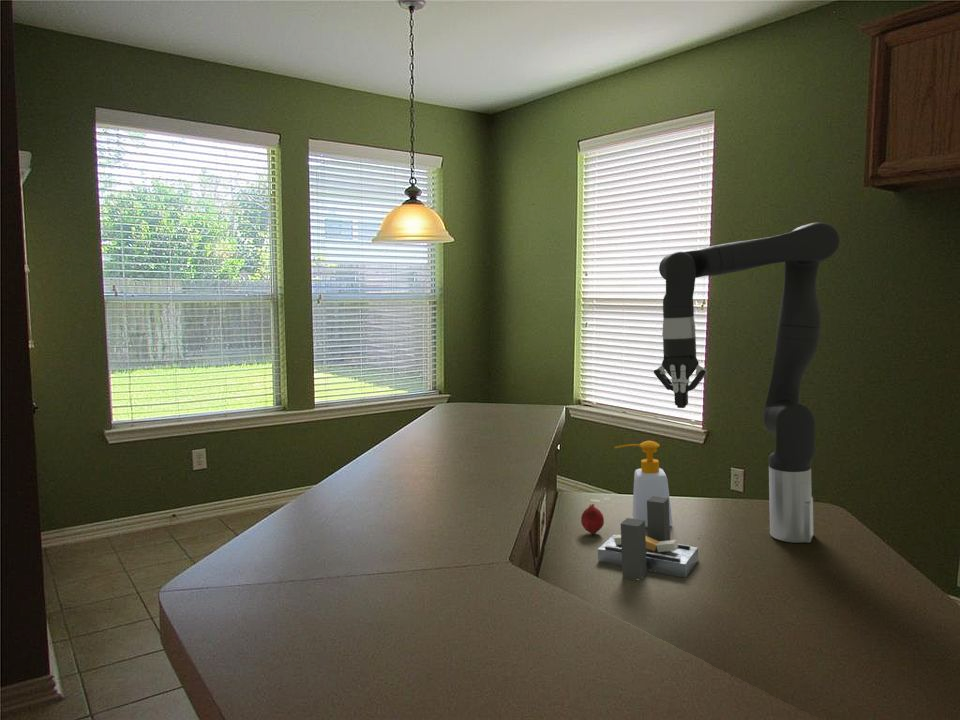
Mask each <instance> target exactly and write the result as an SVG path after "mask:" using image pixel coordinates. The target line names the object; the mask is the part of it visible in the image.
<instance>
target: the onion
mask: <svg viewBox="0 0 960 720" xmlns="http://www.w3.org/2000/svg"><path fill="white" fill-rule="evenodd" d="M604 521H605V518H604V514H603V513H602V511H600V509H598V508H597V507H595V504H594V503H590V504H589V506H588V507H587V508H586V509H584V510H583V512H582V514H581V518H580V523H581V525H582V527H583V529H585V531H586V532H588V533H589V534H591V535H594V534H597V532H599V531H600V530H601V529H602V528H603V526H604V523H605V522H604Z"/></svg>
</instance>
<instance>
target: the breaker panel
mask: <svg viewBox="0 0 960 720" xmlns="http://www.w3.org/2000/svg"><path fill="white" fill-rule="evenodd" d="M617 535H621V533H620V534H619V533H618V534H613V535H611V537H609V538H608V539H607V540H606V541H605V542H604V543H603V544H602V545H600V546H599V547H598V548H597V560H598V561H597V562H598V563H605V564H608V565H609V564H610V565H614V566H615V565H616V566H620V567H622V547H621V545H616V544H615V540H614V538H615V537H616V536H617ZM657 541H659V540H657ZM677 544H678V548H677V549H676V550H675V551H664V552H658V550H657V549H656V550H655V551H652V550H650V549H648V548H646V564H647V570H651V571H650V572H652V571H656V572H655V573H658V572H659V573H658V574H663V575H664V574H665V575H668V576H669V575H670V576H675V577H681V578H687V577H688V576H689V574H690V573H691V571H693V568H694V567H695V566H696V564H697V563H698V561H699V552H698V551H699V550H698V549H699V547H695V546H691V545H690V544H683V543H678V542H677Z"/></svg>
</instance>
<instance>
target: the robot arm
mask: <svg viewBox="0 0 960 720" xmlns="http://www.w3.org/2000/svg"><path fill="white" fill-rule="evenodd" d="M840 240H841V239H840V234H839V233H838V231H837V229H836V228H835V227H834V226H832V225H830V224H828V223H825V222H821V221H820V222H818V221H816V222H811V223H810V222H809V223H807V224H804V225H800V226H798V227H796V228H794V229H793V230H792V231H789V232H786V233H782V234H779V235H774V236H770V237H761V238H756V239H755V238H754V239H748V240H740V241H733V242H727V243H721V244H715V245H711V246H707V247H705V248H704V247H703V248H701V249H696V250H688V251H676V252H673V253H669V254H667V255H666V256H664V257H663V258H662V259H661V261H660V262H659V265H658V271H659V274H660V276H661V277H662V279H663V280H665V294H664V296H663V298H662V314H663V315H662V317H663V319H662V320H663V322H662V333H661V334H662V345H663V346H662V347H663V352H662V353H663V360H662V362H661V365H660V366H659V367H657V368H656V369H654V370H653V374H654V375H655V377H656V378H657V379H658V380H659V381H660V383H661V384H662V385H663V387H665V389H666V390H668V391H672V392H673V395H674V405H675V406H676V407H677V408H678V409H685V408H686V407H687V406H688V404H689V392H691V391H693V390H695V389H696V388H697V386H698V385H699V384H700V383H701V381H702V380H703V379H704V378H705V376H706V375H707V374H708V372H709V370H708V369H707V368H703V367H702V366H701V365H700V364H699V361H698V359H697V343H696V340H697V339H696V338H697V337H696V334H697V333H696V332H697V331H696V322H695V310H694V309H695V308H694V304H695V303H694V292H695V286H696V279H697V278H701V277H702V278H703V277H711V276H720V275H726V274H732V273H737V272H741V271H746V270H750V269H753V268H758V267H763V266H767V265H772V264H779V263H784V282H783V287H782V288H783V290H782V294H781V302H780V309H779V314H778V321H777V326H776V327H777V328H776V333H775V334H776V335H775V337H776V338H775V345H774V346H775V347H774V354H773V359H772V360H773V361H772V368H771V378H770V381H769V386H768V391H767V395H766V399H765V402H764V407H763V412H762V422H763V426H764V427H765V429H766V430H767V432H769V433H770V434H772V435H773V436H775V451H774V452H771V453H770V454H769V455H768V487H769V489H768V495H769V496H768V497H769V498H768V499H769V534H770V536H771V537H772V538H774V539H775V540H779V541H781V542H787V543H795V544H796V543H800V544H801V543H807V544H808V543H811V542H812V539H813V536H814V497H813V495H812V461H813V459H814V457H815V453H816V452H815V451H816V418H815V415H814V413H813V411H812V410H811V409H810V408H809V407H808V406H806V405H805V404H802V403H799V401H800V392H801V391H800V390H801V385H802V384H801V383H802V381H803V377H804V375H805V373H806V371H807V369H808V368H809V367H810V365H811V363H812V361H813V359H814V357H815V355H816V353H817V350H818V348H819V347H818V346H819V342H820V335H821V326H822V316H821V315H822V313H821V310H820V305H819V300H818V295H817V294H818V293H817V277H818V272H819V266H820V263H821V262H824V261H826V260H828V259H830V258H832V256H834V255H835V253H837V251H838V249H839V246H840V242H841V241H840ZM666 373H667V374H668V375H669V377H671V380H670V379H669V377H668V376H667V375H666ZM694 373H695V375H696V376H695V377H694V378H693V380H692V381H691V382H690V378H691V376H692V375H693V374H694Z"/></svg>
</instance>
